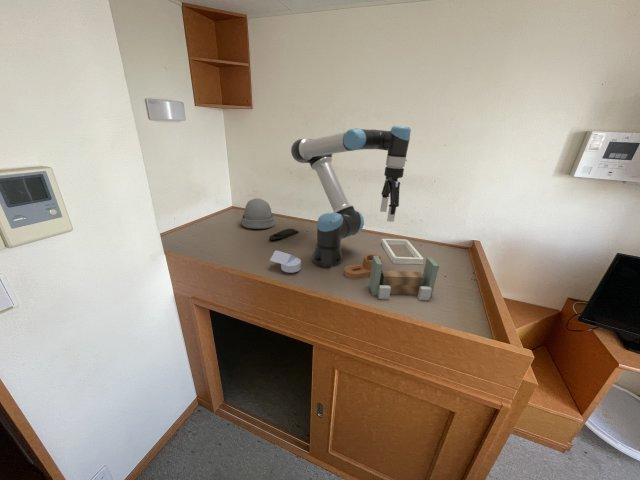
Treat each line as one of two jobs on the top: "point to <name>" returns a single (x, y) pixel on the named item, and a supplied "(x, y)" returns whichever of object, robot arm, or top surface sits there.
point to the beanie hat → (257, 215)
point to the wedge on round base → (286, 261)
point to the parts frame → (402, 260)
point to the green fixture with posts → (384, 290)
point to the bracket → (360, 268)
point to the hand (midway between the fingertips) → (386, 216)
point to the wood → (283, 234)
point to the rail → (402, 281)
